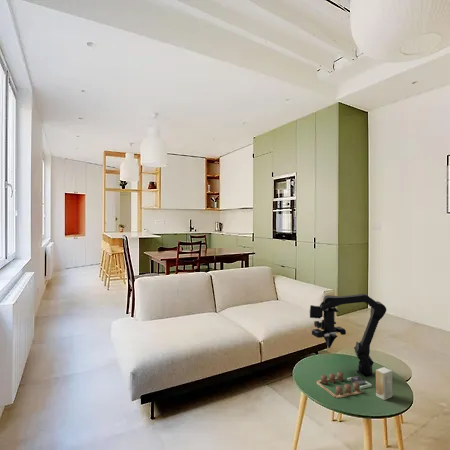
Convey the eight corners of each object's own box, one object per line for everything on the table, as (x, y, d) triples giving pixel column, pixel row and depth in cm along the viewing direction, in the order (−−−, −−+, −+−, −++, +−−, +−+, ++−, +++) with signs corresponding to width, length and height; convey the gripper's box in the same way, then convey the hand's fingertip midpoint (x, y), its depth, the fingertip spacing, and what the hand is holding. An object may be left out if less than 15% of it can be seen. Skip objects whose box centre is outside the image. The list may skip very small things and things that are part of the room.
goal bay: (357, 377, 154) (357, 376, 154) (371, 386, 146) (371, 384, 146) (347, 380, 152) (347, 378, 152) (360, 389, 143) (360, 386, 143)
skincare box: (383, 392, 141) (384, 366, 141) (392, 397, 137) (392, 370, 137) (375, 395, 138) (375, 369, 138) (383, 400, 134) (383, 373, 134)
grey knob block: (358, 381, 151) (358, 375, 151) (365, 386, 146) (365, 379, 146) (351, 383, 149) (351, 376, 149) (357, 387, 145) (357, 380, 145)
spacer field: (340, 377, 154) (340, 370, 154) (362, 392, 140) (362, 385, 140) (315, 382, 149) (315, 375, 149) (335, 398, 135) (336, 390, 135)
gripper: (333, 313, 174) (332, 340, 174) (306, 316, 168) (305, 344, 168) (346, 319, 164) (346, 347, 164) (318, 322, 158) (318, 351, 157)
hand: (328, 347), depth 163 cm, fingers closed
